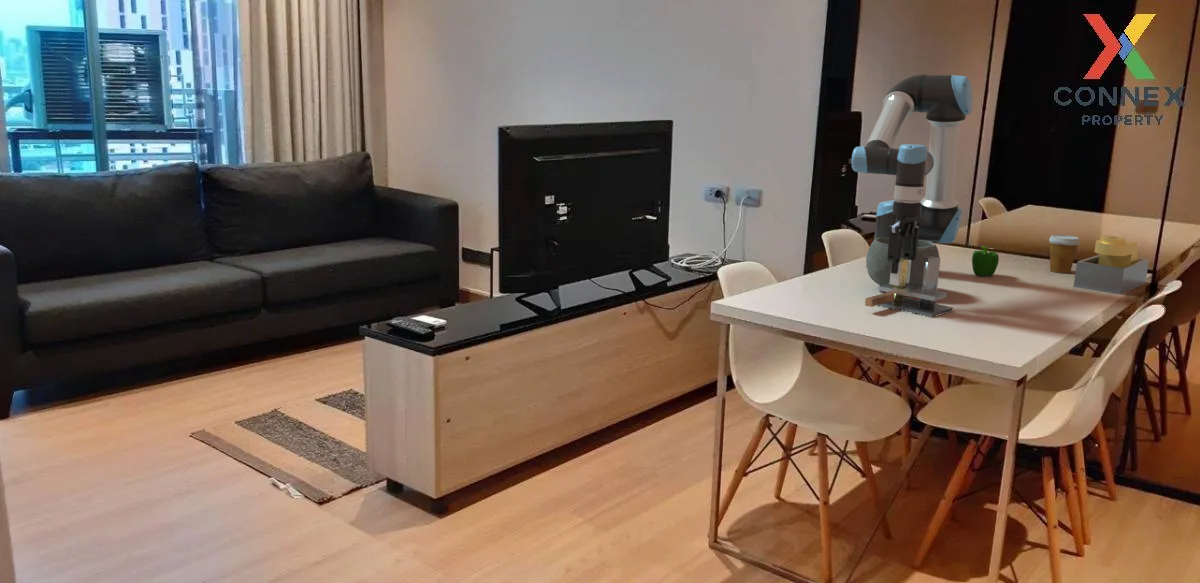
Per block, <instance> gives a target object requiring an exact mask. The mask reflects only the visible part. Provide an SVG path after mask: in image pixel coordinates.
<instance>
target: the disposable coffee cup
mask: <svg viewBox="0 0 1200 583" xmlns="http://www.w3.org/2000/svg"><path fill="white" fill-rule="evenodd" d="M1048 240H1049V271H1050V272H1052V273H1055V274H1057V273H1058V274H1070V273H1071V271H1072V267H1073V264H1074V260H1075V256H1076V255H1077V254H1076V253H1077V251H1078V247H1079V245H1080V243H1081V241H1080V238H1079V237H1078V236H1073V235H1066V234H1053V235H1050V237H1049V239H1048Z"/></svg>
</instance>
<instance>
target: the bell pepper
mask: <svg viewBox="0 0 1200 583" xmlns="http://www.w3.org/2000/svg"><path fill="white" fill-rule="evenodd" d="M980 249H981V250H974V251H973V253H972V257H971V265H972V271H973V274H974V275H976V276H979V277H992V276H993V275H994V274H995V273H996V270H997V269H998V268H997V267H998V265H999V259H1000V257H999V254H998V253H997V252H996V251H989V252H988V247H987V246H984V245H983V246H981V247H980Z"/></svg>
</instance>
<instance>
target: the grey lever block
mask: <svg viewBox="0 0 1200 583" xmlns="http://www.w3.org/2000/svg"><path fill="white" fill-rule="evenodd" d="M940 266H941V257H940V256H939V257H934V256H926V257H925V262H924V272H923V281H922V288H920V287H914V286H909V285H905V289H899V288H894V285H892V284H885V285H881V286H880V285H879V286H878V291H880V292H884V293H881V294H876V295H873V296H869V297H866V298H865V301H864V306H866V307H870V308H873V307H876V305H879V306H878V307H880V306H884V307H883V308H885V307H889V308H888V309H890V308H894V309H898V310H897V311H899V310H903V311H902V312H904V311H907V312H906V313H908V312H912V313H911V314H913V313H917V314H916V315H918V314H921V315H920V316H922V315H925V316H924V317H927V316H930V317H929V318H934V317H933V316H935V317H937V316H936V315H938V316H940V315H939V314H941V315H943V314H942V313H944V314H946V313H945V312H947V313H950V312H952V310H954V307H953V306H948V305H943V304H938V303H937V301H939V300H942V299H945V298H947V297H948V293H947V292H942V291H938V283H939V275H940ZM895 294H900V295H904V298H903V302H895V301H894V295H895ZM908 297H911V298H908ZM914 298H918V299H919V300H918V299H914ZM894 309H893V310H894ZM949 311H950V312H949Z"/></svg>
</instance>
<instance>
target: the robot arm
mask: <svg viewBox="0 0 1200 583" xmlns="http://www.w3.org/2000/svg"><path fill="white" fill-rule="evenodd" d="M972 87H973V86H972V82H971V80H970V78H969V77H967V76H965V75H955V74H915V75H911V76H907V77H905V78H904V79H902V80H900V81H899V82H897V83H896V84H895V85H894V86H892V87H891V88H890V89H889V90H888V91H887V92H886V94H885V96H884V99H883V101H882V110H881V113H880V114H879V116H878V118H877V121H876V122H875V125H874V127H873V129H872V131H871V133H870V136H869V138H868V139H867V142H866V144H865V146H864V145H862V146H856V147H854V149H853V151H852V154H851V168H852V170H853V171H854V172H855V173H861V174H862V173H863V174H873V175H875V174H876V175H889V176H895V182H894V184H895V185H894V190H893V191H894V193H893V199H894V200H893V199H892V200H891V199H890V200H884V201H881V202H879V204H878V206H877V211H876V214H875V225H874V226H875V227H874V228H875V229H874V238H873V241H874V240H875V239H876V238H885V237H889V246H888V256H887V259H888V261H891V262H892V263H891V273H890V283H889V284H892V285H897V286H899V285H900V276H901V267H902V262H900V260H901V256H902V251H903V258H904V259H908V266H907V274H906V282H905V283H909V279H910V269H911V260H915V259H916V254H917V245H918V240H923V241H931V242H932V243H934V244H936V243H937V244H952V243H953V242H954V241H956V238H957V235H958V232H959V229H960V226H961V223H962V219H963V218H962V217H963V213H964V212H963V209H962V208H960V207H959V202H958V201H957V200H956V199H955V183H956V172H957V160H958V147H959V138H960V137H959V136H960V125H961V124H962V123H963V122H965V120H966V117H967V116H968V115H970V114H971V113H972V111H973V110H972V109H973V88H972ZM912 113H922V114H923V113H924V114H925V115H926V116H925V120H926V121H927V122H928V123H929V124H930V131H929V145H928V147H927V145H924V144H913V143H912V144H911V143H906V144H905V143H904V144H901V145H900V146H899V148H895V147H894V146H895V144H896V142H897V139H898V138H899V136H900V133H901V131H902V129H903V126H904V124H905V122H906V120H907V118H908V117H909V116H911V115H912ZM925 176H926V177H925ZM925 178H926V183H925ZM925 184H926V185H925ZM924 185H925V192H924ZM924 193H925V196H924ZM923 196H924V197H923ZM865 264H866V263H865ZM866 268H867V264H866Z"/></svg>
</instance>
